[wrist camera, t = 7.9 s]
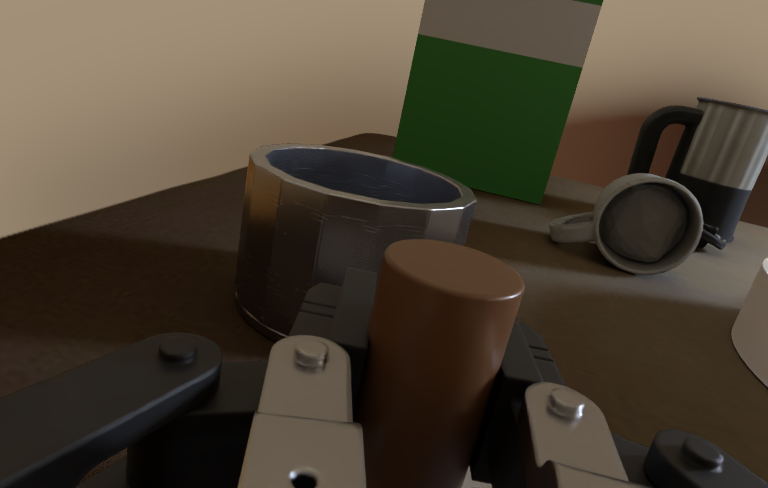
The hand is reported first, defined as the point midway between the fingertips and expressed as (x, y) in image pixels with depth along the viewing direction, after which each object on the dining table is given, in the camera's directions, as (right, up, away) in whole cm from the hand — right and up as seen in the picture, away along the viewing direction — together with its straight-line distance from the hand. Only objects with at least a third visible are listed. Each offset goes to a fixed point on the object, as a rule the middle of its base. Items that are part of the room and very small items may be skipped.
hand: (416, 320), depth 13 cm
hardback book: (+9, +9, +53) cm, 54 cm away
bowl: (-3, -1, +15) cm, 15 cm away
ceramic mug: (+19, +1, +34) cm, 38 cm away
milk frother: (+34, +3, +49) cm, 60 cm away
